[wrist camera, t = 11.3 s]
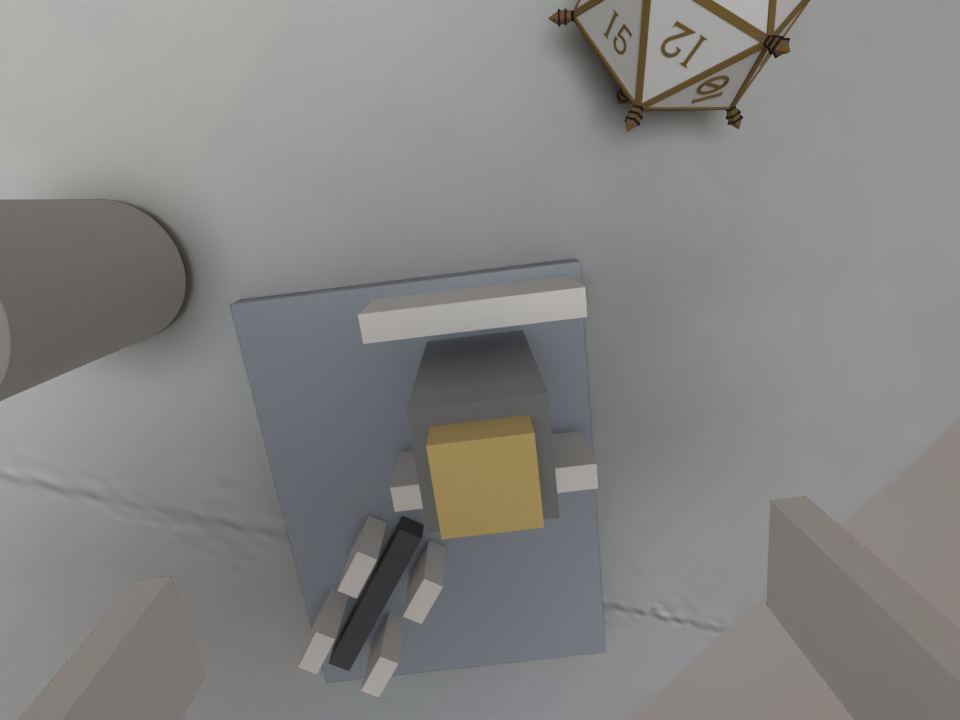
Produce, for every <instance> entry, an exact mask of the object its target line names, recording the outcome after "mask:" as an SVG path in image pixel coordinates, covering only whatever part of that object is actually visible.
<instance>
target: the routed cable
mask: <svg viewBox="0 0 960 720" xmlns="http://www.w3.org/2000/svg"><path fill="white" fill-rule="evenodd" d="M423 528H424V525H423V524H421V523H419V522H416V521H414V520H412V519H409V518H407V517H404V516H402V518H401V520H400V522H399V524H398V526H397V528H396V530H395V531H394V533H393V535H392V537H391V539H390V541H389V543H388V545H387V546H386V548H385V550H384V552H383V554H382V556H381V558H380V560H379V562H378V563H377V565H376V567H375V569H374V571H373V573H372V575H371V577H370V579H369V580H368V582H367V584H366V586H365V588H364V590H363V592H362V594H361V596H360V597H359V599H358V601H357V603H356V605H355V607H354V609H353V611H352V613H351V614H350V616H349V618H348V620H347V622H346V624H345V626H344V628H343V630H342V631H341V633H340V635H339V637H338V639H337V641H336V643H335V645H334V647H333V650H332V654H331V657H330V660H329V663H328V664H331V665H334V666H336V667H339V668H342V669H344V670H347V671H350V669H351V667H352V665H353V664H354V662H355V660H356V658H357V656H358V654H359V653H360V651H361V649H362V647H363V645H364V643H365V642H366V640H367V638H368V636H369V634H370V632H371V631H372V629H373V627H374V625H375V623H376V622H377V620H378V618H379V616H380V614H381V612H382V611H383V609H384V607H385V605H386V603H387V601H388V600H389V598H390V596H391V594H392V592H393V591H394V589H395V587H396V585H397V583H398V581H399V580H400V578H401V576H402V574H403V572H404V570H405V569H406V567H407V565H408V563H409V561H410V560H411V558H412V556H413V554H414V552H415V550H416V549H417V547H418V545H419V543H420V541H421V539H422V535H423Z"/></svg>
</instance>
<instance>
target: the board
mask: <svg viewBox="0 0 960 720" xmlns="http://www.w3.org/2000/svg"><path fill="white" fill-rule="evenodd" d="M566 275H570V276H572V277H573V278H574V279H576V280H577V281H578V282H579V283H581V271H580V261H578V260H576V259H569V260H561V261H553V262H544V263H536V264H528V265H520V266H512V267H504V268H496V269H487V270H479V271H471V272H463V273H455V274H447V275H438V276H430V277H422V278H414V279H406V280H398V281H389V282H381V283H373V284H365V285H357V286H349V287H341V288H332V289H324V290H316V291H308V292H300V293H292V294H283V295H275V296H267V297H259V298H251V299H243V300H239V301H236V302H234V303H232V304H230V308H231V312H232V316H233V320H234V324H235V328H236V332H237V336H238V340H239V343H240V347H241V351H242V355H243V359H244V363H245V367H246V371H247V375H248V379H249V383H250V387H251V391H252V395H253V398H254V402H255V406H256V410H257V414H258V418H259V422H260V426H261V430H262V434H263V438H264V442H265V446H266V449H267V453H268V457H269V461H270V465H271V469H272V473H273V477H274V481H275V485H276V489H277V493H278V497H279V500H280V504H281V508H282V512H283V516H284V520H285V524H286V528H287V532H288V536H289V540H290V544H291V548H292V552H293V555H294V559H295V563H296V567H297V571H298V575H299V579H300V583H301V587H302V591H303V595H304V599H305V603H306V606H307V610H308V614H309V618H310V622H311V626H312V631H311V633H310V636H309V639H308V641H307V644H306V647H305V650H304V652H303V655H302V658H301V660H300V663H299V666H298V668H300V669H303V670H306V671H308V672H311V673H314V674H317V673H318V671H319V669H320V668H321V666H322V669H323V673H324V677H325V681H326V683H330V682H339V681H348V680H358V679H363V683H362V688H361V691H362V692H365V693H367V694H370V695H373V696H375V697H378V698H379V697H380V695H381V693H382V692H383V690H384V688H385V686H386V685H387V683H388V681H389V680H390V678H391V676H394V675H403V674H412V673H421V672H430V671H439V670H449V669H458V668H467V667H476V666H485V665H494V664H503V663H512V662H521V661H530V660H540V659H549V658H558V657H567V656H576V655H585V654H594V653H603V652H606V648H605V633H604V618H603V602H602V587H601V572H600V557H599V542H598V527H597V512H596V497H595V489H589V490H580V491H571V492H563V493H557V494H558V505H559V516H560V518H554V519H545V520H544V528H536V529H527V530H519V531H510V532H501V533H493V534H484V535H476V536H467V537H459V538H450V539H441V533H440V532H434V533H427V528H426V523H425V517H424V511H423V509H415V510H406V511H398V512H395V511H394V505H393V500H392V495H391V489H390V487H391V483H392V479H393V476H394V472H395V469H396V465H397V461H398V458H399V454H400V452H402V451H411V450H413V448H412V442H411V436H410V430H409V425H408V419H407V413H406V409H407V405H408V402H409V399H410V396H411V392H412V389H413V386H414V383H415V379H416V376H417V373H418V369H419V366H420V363H421V360H422V356H423V353H424V350H425V346H426V343H427V342H429V341H437V340H445V339H453V338H461V337H469V336H477V335H485V334H493V333H502V332H510V331H518V330H523V332H524V334H525V337H526V339H527V342H528V344H529V347H530V349H531V352H532V354H533V357H534V359H535V362H536V364H537V367H538V369H539V372H540V374H541V376H542V379H543V381H544V384H545V386H546V389H547V391H548V396H549V407H550V418H551V429H552V434H556V433H565V432H573V431H581V432H582V434H583V436H584V438H585V440H586V442H587V444H588V446H589V449H590V451H591V453H592V455H593V452H592V437H591V422H590V407H589V392H588V377H587V362H586V346H585V331H584V317H583V318H574V319H566V320H558V321H549V322H541V323H533V324H525V325H516V326H508V327H500V328H491V329H483V330H475V331H467V332H458V333H450V334H442V335H433V336H425V337H417V338H409V339H400V340H392V341H384V342H375V343H367V344H363V340H362V335H361V329H360V324H359V319H358V314H359V313H360V312H361V311H362V310H363V309H364V308H365V307H366V306H367V305H368V304H369V303H370V302H371V301H372V300H373V299H378V298H386V297H394V296H402V295H411V294H419V293H427V292H435V291H443V290H452V289H460V288H468V287H476V286H484V285H493V284H501V283H509V282H517V281H525V280H533V279H542V278H550V277H558V276H566ZM402 516H404V517H407V518H409V519H412V520H414V521H416V522H419V523H421V524H423V525H424V528H423V535H422V539H421V541H420V543H419V545H418V547H417V549H416V550H415V552H414V554H413V556H412V558H411V560H410V561H409V563H408V565H407V567H406V569H405V570H404V572H403V574H402V576H401V578H400V580H399V581H398V583H397V585H396V587H395V589H394V591H393V592H392V594H391V596H390V598H389V600H388V601H387V603H386V605H385V607H384V609H383V611H382V612H381V614H380V616H379V618H378V620H377V622H376V623H375V625H374V627H373V629H372V631H371V632H370V634H369V636H368V638H367V640H366V642H365V643H364V645H363V647H362V649H361V651H360V653H359V654H358V656H357V658H356V660H355V662H354V664H353V665H352V667H351V669H350V671H347V670H344V669H342V668H339V667H336V666H334V665H331V664H328V663H329V660H330V657H331V654H332V650H333V647H334V645H335V643H336V641H337V639H338V637H339V635H340V633H341V631H342V630H343V628H344V626H345V624H346V622H347V620H348V618H349V616H350V614H351V613H352V611H353V609H354V607H355V605H356V603H357V601H358V599H359V597H360V596H361V594H362V592H363V590H364V588H365V586H366V584H367V582H368V580H369V579H370V577H371V575H372V573H373V571H374V569H375V567H376V565H377V563H378V562H379V560H380V558H381V556H382V554H383V552H384V550H385V548H386V546H387V545H388V543H389V541H390V539H391V537H392V535H393V533H394V531H395V530H396V528H397V526H398V524H399V522H400V520H401V518H402Z"/></svg>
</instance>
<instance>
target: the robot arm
mask: <svg viewBox="0 0 960 720" xmlns="http://www.w3.org/2000/svg"><path fill="white" fill-rule="evenodd" d="M766 603H767V606H768V607H769V609H770V610H771V611H772V612H773V614H774V615H775V616H776V618H777V619H778V620H779V622H780V623H781V624H782V626H783V627H784V628H785V629H786V631H787V632H788V634H789V635H790V636H791V637H792V639H793V640H794V641H795V643H796V644H797V645H798V647H799V648H800V649H801V651H802V652H803V653H804V655H805V656H806V657H807V658H808V660H809V661H810V662H811V664H812V665H813V666H814V668H815V669H816V670H817V672H818V673H819V674H820V676H821V677H822V678H823V679H824V681H825V682H826V683H827V685H828V686H829V687H830V689H831V690H832V691H833V693H834V694H835V695H836V696H837V698H838V699H839V701H840V702H841V703H842V704H843V706H844V707H845V708H846V710H847V711H848V712H849V714H850V715H851V716H852V717H853V719H854V720H960V627H958V626H957V625H956V624H955V623H954V622H953V621H951V620H950V619H949V618H948V617H947V616H946V615H944V614H943V613H942V612H941V611H940V610H939V609H937V608H936V607H935V606H934V605H933V604H932V603H930V602H929V601H928V600H927V599H926V598H924V597H923V596H922V595H921V594H920V593H918V592H917V591H916V590H915V589H914V588H913V587H911V586H910V585H909V584H908V583H907V582H906V581H905V580H903V579H902V578H901V577H900V576H899V575H897V574H896V573H895V572H894V571H893V570H892V569H890V568H889V567H888V566H887V565H886V564H885V563H883V562H882V561H881V560H880V559H879V558H877V557H876V556H875V555H874V554H873V553H872V552H871V551H869V550H868V549H867V548H866V547H865V546H863V545H862V544H861V543H860V542H859V541H858V540H856V539H855V538H854V537H853V536H852V535H850V534H849V533H848V532H847V531H846V530H845V529H844V528H842V527H841V526H840V525H839V524H838V523H836V522H835V521H834V520H833V519H832V518H831V517H829V516H828V515H827V514H826V513H825V512H824V511H822V510H821V509H820V508H819V507H818V506H817V505H815V504H814V503H813V502H812V501H811V500H810V499H808V498H807V497H806V496H801V497H793V498H785V499H777V500H770V524H769V550H768V576H767V602H766ZM204 676H205V675H204V672H203V669H202V666H201V663H200V660H199V657H198V654H197V651H196V648H195V646H194V643H193V640H192V637H191V634H190V631H189V628H188V625H187V622H186V619H185V616H184V613H183V610H182V607H181V604H180V601H179V598H178V595H177V592H176V589H175V586H174V583H173V580H172V577H171V576H168V577H160V578H152V579H144V580H136V581H135V582H134V584H133V585H132V586H131V587H130V588H129V590H128V591H127V592H126V593H125V594H124V595H123V597H122V598H121V599H120V600H119V601H118V602H117V604H116V605H115V606H114V607H113V608H112V610H111V611H110V612H109V613H108V614H107V615H106V617H105V618H104V619H103V620H102V621H101V623H100V624H99V625H98V626H97V627H96V628H95V630H94V631H93V632H92V633H91V634H90V636H89V637H88V638H87V639H86V640H85V641H84V643H83V644H82V645H81V646H80V647H79V648H78V650H77V651H76V652H75V653H74V654H73V656H72V657H71V658H70V659H69V660H68V661H67V663H66V664H65V665H64V666H63V667H62V669H61V670H60V671H59V672H58V673H57V674H56V676H55V677H54V678H53V679H52V680H51V681H50V683H49V684H48V685H47V686H46V687H45V689H44V690H43V691H42V692H41V693H40V694H39V696H38V697H37V698H36V699H35V700H34V702H33V703H32V704H31V705H30V706H29V707H28V709H27V710H26V711H25V712H24V713H23V714H22V716H21V717H20V718H19V719H18V720H181V719H182V717H183V715H184V714H185V712H186V710H187V708H188V706H189V704H190V702H191V701H192V699H193V697H194V695H195V693H196V691H197V689H198V687H199V686H200V684H201V682H202V680H203V678H204Z"/></svg>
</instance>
